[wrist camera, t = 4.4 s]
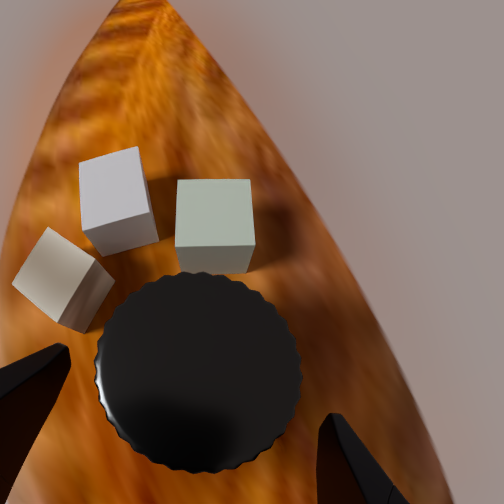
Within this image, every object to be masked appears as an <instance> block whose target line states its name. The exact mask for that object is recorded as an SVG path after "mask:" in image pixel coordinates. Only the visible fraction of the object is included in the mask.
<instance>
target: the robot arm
mask: <svg viewBox="0 0 504 504" xmlns="http://www.w3.org/2000/svg"><path fill="white" fill-rule="evenodd" d="M70 368H71V359H70V353H69V348H68V347H67V346H66V345H63V344H61V343H55V344H53V345H51V346H49V347H46V348H44V349H42V350H40V351H38V352H36V353H33V354H31V355H29V356H27V357H25V358H22V359H20V360H18V361H16V362H14V363H11V364H9V365H7V366H5V367H3V368H0V504H5V503H6V500H7V498H8V496H9V493H10V491H11V489H12V486H13V484H14V482H15V480H16V478H17V476H18V474H19V471H20V469H21V467H22V465H23V463H24V461H25V459H26V457H27V455H28V453H29V451H30V449H31V447H32V445H33V443H34V441H35V440H36V438H37V436H38V434H39V432H40V430H41V428H42V426H43V425H44V423H45V421H46V419H47V417H48V415H49V414H50V412H51V410H52V408H53V406H54V405H55V403H56V400H57V398H58V396H59V394H60V391H61V389H62V387H63V384H64V382H65V380H66V377H67V375H68V373H69V371H70ZM316 479H317V502H318V504H410V503H409V502H408V501H407V500H406V499H405V498H404V496H403V495H402V494H401V493H400V491H399V490H398V489H397V488H396V486H395V485H393V482H392V481H391V480H390V478H389V477H388V476H387V475H386V473H385V472H384V471H383V469H382V468H381V467H380V465H379V464H378V463H377V461H376V460H375V459H374V457H373V456H372V455H371V453H370V452H369V451H368V449H367V448H366V447H365V445H364V444H363V443H362V441H361V440H360V439H359V437H358V436H357V435H356V433H355V432H354V431H353V429H352V428H351V427H350V425H349V424H348V423H347V421H346V420H345V418H344V417H343V416H342V415H341V414H338V413H329V414H328V415H327V417H326V418H325V420H324V421H323V423H322V424H321V426H320V428H319V433H318V449H317V463H316Z"/></svg>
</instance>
